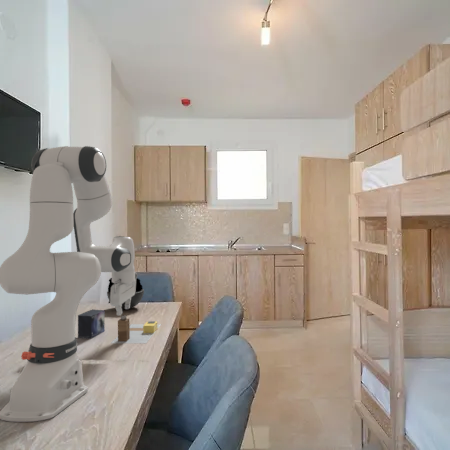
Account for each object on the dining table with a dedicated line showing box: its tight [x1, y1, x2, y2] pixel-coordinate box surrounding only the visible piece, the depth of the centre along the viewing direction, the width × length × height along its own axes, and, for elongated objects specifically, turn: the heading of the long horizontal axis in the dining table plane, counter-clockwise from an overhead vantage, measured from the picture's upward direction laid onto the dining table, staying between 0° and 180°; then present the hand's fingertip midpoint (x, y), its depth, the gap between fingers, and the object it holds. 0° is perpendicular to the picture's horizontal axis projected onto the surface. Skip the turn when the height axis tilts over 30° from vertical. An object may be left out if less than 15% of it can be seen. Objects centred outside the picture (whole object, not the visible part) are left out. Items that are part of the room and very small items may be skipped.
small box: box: [77, 309, 106, 340], centre depth 147 cm, size 11×6×10 cm, turn 168°
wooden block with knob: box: [117, 314, 131, 341], centre depth 140 cm, size 4×4×10 cm
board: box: [110, 323, 162, 344], centre depth 148 cm, size 26×14×1 cm, turn 177°
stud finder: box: [143, 320, 158, 334], centre depth 152 cm, size 7×4×3 cm, turn 179°
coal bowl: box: [106, 277, 145, 310], centre depth 197 cm, size 20×20×19 cm
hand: (123, 311), depth 140 cm, fingers open, 8 cm apart
